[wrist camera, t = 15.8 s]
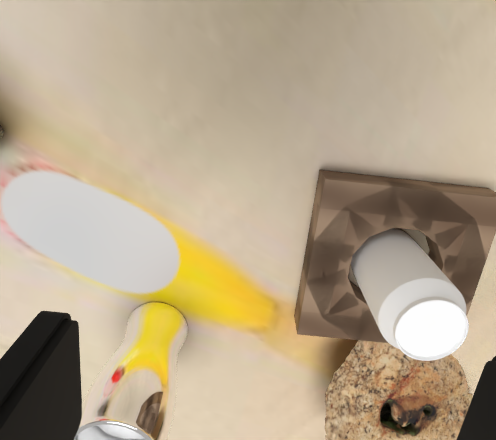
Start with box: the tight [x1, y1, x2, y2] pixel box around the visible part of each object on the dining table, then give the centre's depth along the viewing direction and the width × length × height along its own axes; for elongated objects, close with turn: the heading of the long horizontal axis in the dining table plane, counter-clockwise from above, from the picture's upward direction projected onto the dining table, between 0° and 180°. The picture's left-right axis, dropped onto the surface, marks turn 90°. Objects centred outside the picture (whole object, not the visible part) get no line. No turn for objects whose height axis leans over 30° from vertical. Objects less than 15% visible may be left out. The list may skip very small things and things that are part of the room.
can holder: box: [294, 170, 496, 343], centre depth 38 cm, size 15×15×3 cm
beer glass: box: [74, 302, 188, 440], centre depth 36 cm, size 7×7×15 cm
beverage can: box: [351, 228, 469, 361], centre depth 34 cm, size 6×6×12 cm
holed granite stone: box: [325, 340, 472, 440], centre depth 43 cm, size 18×14×8 cm
